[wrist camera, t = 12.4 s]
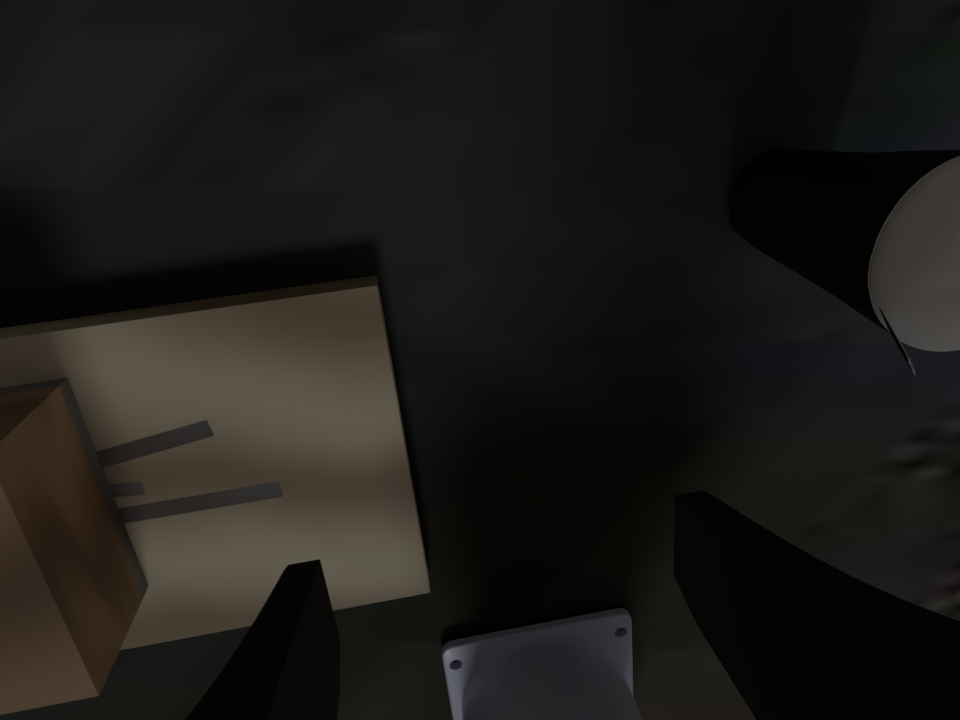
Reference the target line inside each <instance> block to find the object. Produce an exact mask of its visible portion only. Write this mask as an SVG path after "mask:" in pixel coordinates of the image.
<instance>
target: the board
mask: <svg viewBox="0 0 960 720" xmlns="http://www.w3.org/2000/svg"><path fill="white" fill-rule="evenodd" d="M63 378H68V380H69V383H70V385H71V388H72V391H73V393H74V396H75V398H76V401H77V403H78V406H79V409H80V411H81V414H82V416H83V419H84V421H85V424H86V427H87V429H88V432H89V434H90V437H91V440H92V442H93V445H94V447H95V450H96V452H97V455H98V458H99V460H100V463H101V465H102V468H103V470H104V473H105V476H106V478H107V481H108V483H109V486H110V488H111V491H112V494H113V496H114V499H115V501H116V504H117V507H118V509H119V512H120V514H121V517H122V519H123V522H124V525H125V527H126V530H127V532H128V535H129V537H130V540H131V543H132V545H133V548H134V550H135V553H136V555H137V558H138V561H139V563H140V566H141V568H142V571H143V574H144V576H145V579H146V581H147V584H148V589H147V591H146V593H145V595H144V597H143V600H142V602H141V604H140V606H139V609H138V611H137V613H136V615H135V617H134V620H133V622H132V624H131V626H130V628H129V631H128V633H127V635H126V637H125V639H124V642H123V644H122V646H121V648H120V650H123V649H129V648H134V647H140V646H145V645H150V644H156V643H161V642H166V641H172V640H177V639H183V638H188V637H193V636H199V635H204V634H210V633H215V632H220V631H226V630H231V629H236V628H242V627H247V626H251V625H252V624H253V622H254V621H255V619H256V617H257V616H258V614H259V612H260V611H261V609H262V607H263V606H264V604H265V602H266V601H267V599H268V597H269V596H270V594H271V592H272V590H273V589H274V587H275V585H276V583H277V581H278V580H279V578H280V576H281V574H282V573H283V571H284V570H285V568H286V567H287V566H288V565H290V564H295V563H301V562H306V561H312V560H318V559H320V562H321V566H322V570H323V574H324V577H325V581H326V585H327V589H328V593H329V597H330V601H331V605H332V609H333V610H339V609H344V608H349V607H355V606H360V605H365V604H371V603H376V602H382V601H387V600H392V599H398V598H403V597H409V596H414V595H419V594H425V593H430V586H429V576H428V568H427V563H426V557H425V551H424V545H423V540H422V534H421V528H420V522H419V516H418V511H417V505H416V499H415V493H414V487H413V482H412V476H411V470H410V464H409V458H408V453H407V447H406V441H405V435H404V430H403V424H402V418H401V412H400V406H399V401H398V395H397V389H396V383H395V377H394V372H393V366H392V360H391V354H390V348H389V343H388V337H387V331H386V325H385V320H384V314H383V308H382V302H381V296H380V291H379V285H378V279H377V275H374V276H367V277H360V278H353V279H346V280H339V281H332V282H325V283H318V284H310V285H303V286H296V287H289V288H282V289H275V290H268V291H261V292H254V293H247V294H240V295H233V296H225V297H218V298H211V299H204V300H197V301H190V302H183V303H176V304H169V305H162V306H155V307H148V308H140V309H133V310H126V311H119V312H112V313H105V314H98V315H91V316H84V317H77V318H70V319H63V320H55V321H48V322H41V323H34V324H27V325H20V326H13V327H6V328H0V388H3V387H10V386H16V385H23V384H30V383H36V382H43V381H50V380H57V379H63Z"/></svg>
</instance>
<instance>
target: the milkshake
mask: <svg viewBox="0 0 960 720" xmlns="http://www.w3.org/2000/svg"><path fill="white" fill-rule="evenodd" d="M729 206H730V214H731V223H732V228H733V229H734V230H735V231H736V232H737V233H739V234H740V235H741V236H742V237H743V238H744V239H745V240H746V241H747V242H748V243H749V244H750V245H752V246H753V247H754V248H756V249H758V250H759V251H761V252H762V253H764V254H766V255H767V256H769V257H771V258H772V259H774V260H776V261H777V262H779V263H781V264H782V265H784V266H786V267H787V268H789V269H791V270H792V271H794V272H796V273H797V274H799V275H801V276H802V277H804V278H806V279H807V280H809V281H811V282H812V283H814V284H816V285H817V286H819V287H821V288H822V289H824V290H826V291H827V292H829V293H830V294H832V295H834V296H835V297H836V298H838V299H839V300H841V301H842V302H844V303H845V304H847V305H848V306H850V307H851V308H853V309H854V310H856V311H857V312H859V313H860V314H861V315H863V316H864V317H866V318H867V319H869V320H870V321H872V322H873V323H875V324H876V325H878V326H879V327H881V328H882V329H884V330H885V331H887V332H888V333H890V334H891V335H892V337H893V339H894V340H895V342H896V344H897V346H898V348H899V349H900V351H901V353H902V355H903V357H904V359H905V360H906V362H907V364H908V366H909V368H910V369H911V371H912V373H913V375H916V372H915V370H914V367H913V365H912V362H911V360H910V358H909V357H908V355H907V353H906V351H905V349H904V348H903V346H902V344H901V342H903V343H905V344H907V345H910V346H912V347H915V348H918V349H922V350H928V351H956V350H960V150H919V151H896V152H838V151H810V150H769V151H767V152H766V153H765V154H763V155H762V156H760V157H759V158H757V159H756V160H754V161H753V162H751V163H750V164H748V165H747V166H746V167H744V168H743V169H742V171H741V173H740V175H739V177H738V179H737V182H736V184H735V186H734V188H733V190H732V192H731V194H730V196H729ZM900 341H901V342H900Z"/></svg>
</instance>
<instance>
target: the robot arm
mask: <svg viewBox="0 0 960 720" xmlns="http://www.w3.org/2000/svg"><path fill="white" fill-rule="evenodd" d="M674 576H675V578H676V581H677V583H678V585H679V587H680V590H681V592H682V594H683V596H684V599H685V601H686V603H687V605H688V607H689V609H690V611H691V613H692V615H693V618H694V620H695V621H696V623H697V625H698V626H699V628H700V630H701V631H702V633H703V635H704V636H705V638H706V639H707V641H708V643H709V644H710V646H711V648H712V649H713V651H714V652H715V654H716V656H717V657H718V659H719V660H720V662H721V664H722V665H723V667H724V668H725V670H726V672H727V673H728V675H729V676H730V678H731V680H732V681H733V683H734V684H735V686H736V688H737V689H738V691H739V692H740V694H741V696H742V697H743V699H744V700H745V702H746V703H747V705H748V707H749V708H750V710H751V711H752V713H753V715H754V716H755V718H756V720H960V621H957V620H954V619H952V618H949V617H946V616H944V615H941V614H938V613H936V612H933V611H930V610H928V609H925V608H922V607H920V606H917V605H915V604H912V603H910V602H907V601H905V600H902V599H900V598H898V597H896V596H893V595H891V594H889V593H887V592H884V591H882V590H880V589H878V588H875V587H873V586H871V585H869V584H867V583H864V582H862V581H860V580H858V579H856V578H854V577H852V576H850V575H848V574H846V573H844V572H842V571H840V570H838V569H836V568H834V567H832V566H830V565H829V564H827V563H825V562H823V561H821V560H819V559H817V558H815V557H813V556H812V555H810V554H808V553H806V552H805V551H803V550H801V549H799V548H797V547H796V546H794V545H792V544H791V543H789V542H787V541H785V540H784V539H782V538H780V537H779V536H777V535H775V534H774V533H772V532H770V531H769V530H767V529H765V528H764V527H762V526H760V525H759V524H757V523H756V522H754V521H752V520H751V519H749V518H748V517H746V516H744V515H743V514H741V513H740V512H738V511H736V510H735V509H733V508H732V507H730V506H728V505H727V504H725V503H724V502H722V501H720V500H719V499H717V498H715V497H714V496H712V495H710V494H709V493H707V492H705V491H698V492H693V493H687V494H682V495H676V496H675V535H674ZM619 628H621V629H620V630H617V629H619ZM442 659H443V665H444V670H445V676H446V682H447V688H448V693H449V699H450V705H451V711H452V717H453V720H643V719H642V717H641V715H640V712H639V710H638V707H637V705H636V703H635V700H634V698H633V661H632V620H631V617H630V614H629V612H628V611H627V610H626V609H623V608H617V609H611V610H606V611H601V612H596V613H591V614H585V615H580V616H575V617H570V618H565V619H560V620H554V621H549V622H544V623H539V624H534V625H529V626H523V627H518V628H513V629H508V630H503V631H497V632H492V633H487V634H482V635H477V636H472V637H466V638H461V639H456V640H451V641H449V642H447V643H445V644H444V645H443V647H442ZM454 660H459V661H457V662H452V661H454ZM339 693H340V637H339V633H338V629H337V625H336V621H335V617H334V613H333V609H332V605H331V601H330V597H329V593H328V589H327V585H326V581H325V577H324V574H323V570H322V566H321V562H320V559H318V560H312V561H306V562H301V563H295V564H290V565H288V566H287V567H286V568H285V570H284V571H283V573H282V574H281V576H280V578H279V580H278V581H277V583H276V585H275V587H274V589H273V590H272V592H271V594H270V596H269V597H268V599H267V601H266V602H265V604H264V606H263V607H262V609H261V611H260V612H259V614H258V616H257V617H256V619H255V621H254V622H253V624H252V625H251V627H250V629H249V630H248V632H247V633H246V635H245V636H244V638H243V640H242V641H241V643H240V644H239V646H238V647H237V649H236V651H235V652H234V654H233V655H232V657H231V658H230V659H229V661H228V662H227V664H226V665H225V666H224V668H223V669H222V671H221V672H220V674H219V675H218V676H217V678H216V679H215V681H214V682H213V683H212V685H211V686H210V688H209V689H208V690H207V692H206V693H205V694H204V696H203V697H202V698H201V700H200V701H199V702H198V704H197V705H196V706H195V708H194V709H193V710H192V711H191V713H190V714H189V715H188V716H187V718H186V719H185V720H337V712H338V703H339Z"/></svg>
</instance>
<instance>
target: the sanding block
mask: <svg viewBox="0 0 960 720" xmlns="http://www.w3.org/2000/svg"><path fill="white" fill-rule="evenodd" d="M147 589H148V584H147V581H146V579H145V576H144V574H143V571H142V568H141V566H140V563H139V561H138V558H137V555H136V553H135V550H134V548H133V545H132V543H131V540H130V537H129V535H128V532H127V530H126V527H125V525H124V522H123V519H122V517H121V514H120V512H119V509H118V507H117V504H116V501H115V499H114V496H113V494H112V491H111V488H110V486H109V483H108V481H107V478H106V476H105V473H104V470H103V468H102V465H101V463H100V460H99V458H98V455H97V452H96V450H95V447H94V445H93V442H92V440H91V437H90V434H89V432H88V429H87V427H86V424H85V421H84V419H83V416H82V414H81V411H80V409H79V406H78V403H77V401H76V398H75V396H74V393H73V391H72V388H71V385H70V383H69V380H68V378H63V379H57V380H50V381H43V382H36V383H30V384H23V385H16V386H10V387H3V388H0V715H1V714H7V713H12V712H17V711H22V710H28V709H33V708H38V707H43V706H48V705H54V704H59V703H64V702H69V701H75V700H80V699H85V698H90V697H96V696H99V695H100V692H101V690H102V688H103V686H104V684H105V681H106V679H107V677H108V675H109V673H110V670H111V668H112V666H113V664H114V661H115V659H116V657H117V655H118V653H119V650H120V648H121V646H122V644H123V642H124V639H125V637H126V635H127V633H128V631H129V628H130V626H131V624H132V622H133V620H134V617H135V615H136V613H137V611H138V609H139V606H140V604H141V602H142V600H143V597H144V595H145V593H146V591H147Z"/></svg>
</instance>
